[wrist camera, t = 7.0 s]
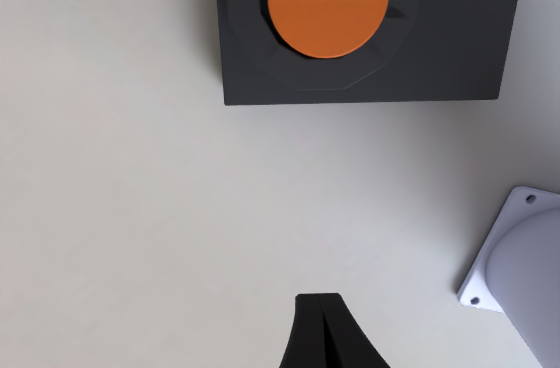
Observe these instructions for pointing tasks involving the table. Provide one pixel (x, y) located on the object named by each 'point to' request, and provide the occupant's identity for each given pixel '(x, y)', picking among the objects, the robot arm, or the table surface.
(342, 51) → the power button
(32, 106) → the table surface
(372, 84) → the push button base
